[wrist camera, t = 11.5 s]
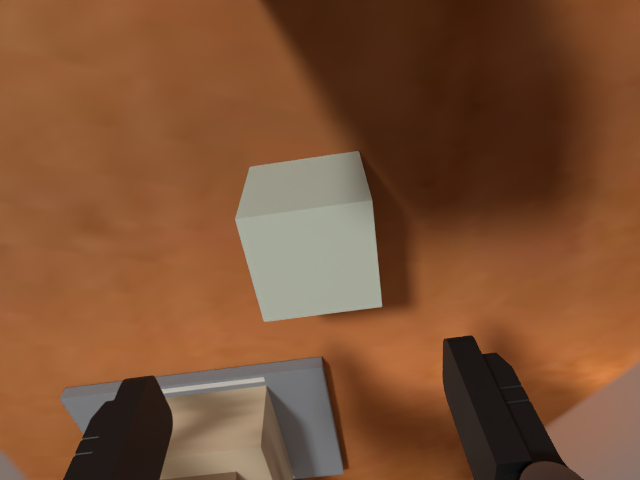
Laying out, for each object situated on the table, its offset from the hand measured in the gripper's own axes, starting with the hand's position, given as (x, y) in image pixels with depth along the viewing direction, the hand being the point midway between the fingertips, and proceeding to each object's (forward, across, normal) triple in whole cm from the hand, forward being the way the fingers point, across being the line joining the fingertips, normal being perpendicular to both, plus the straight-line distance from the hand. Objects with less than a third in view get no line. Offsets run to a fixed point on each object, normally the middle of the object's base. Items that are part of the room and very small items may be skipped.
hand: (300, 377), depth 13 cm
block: (+11, -1, 0) cm, 11 cm away
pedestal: (+10, +8, +16) cm, 20 cm away
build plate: (+11, +8, +16) cm, 21 cm away
